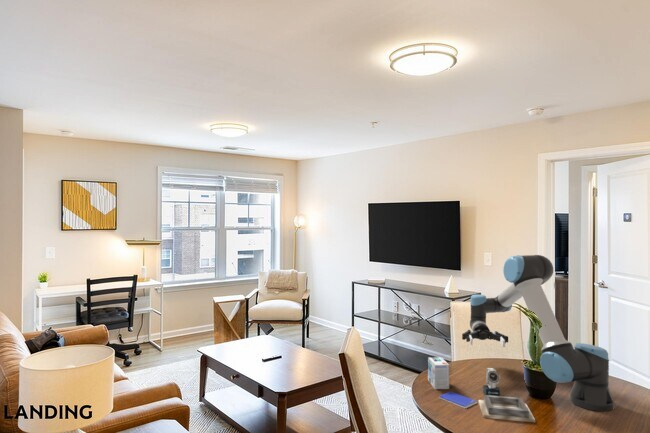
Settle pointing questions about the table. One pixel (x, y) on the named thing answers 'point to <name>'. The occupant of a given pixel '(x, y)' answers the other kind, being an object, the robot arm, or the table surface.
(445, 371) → the light bulb box
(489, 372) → the watch
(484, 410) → the fitting base
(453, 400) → the hard drive
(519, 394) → the table surface
